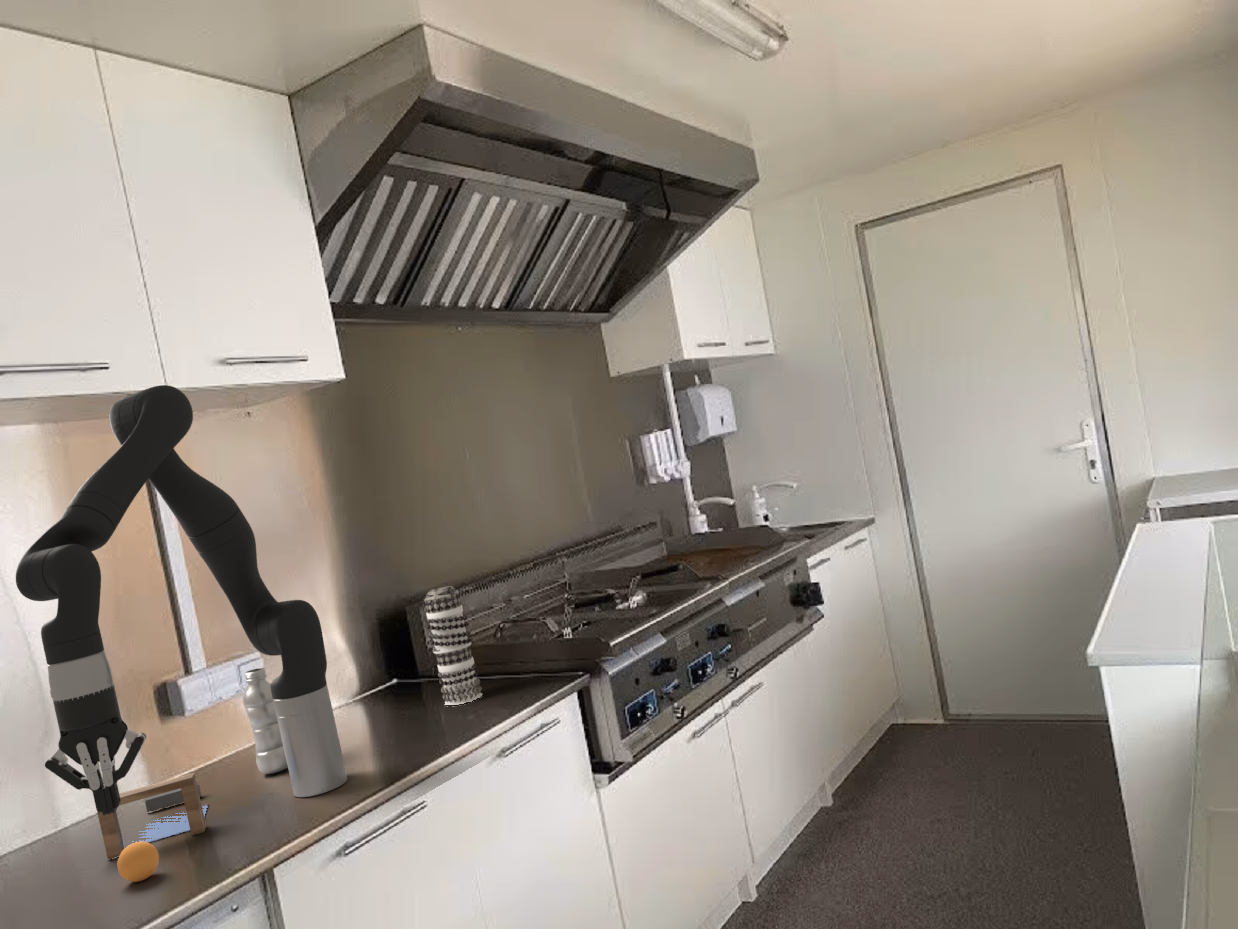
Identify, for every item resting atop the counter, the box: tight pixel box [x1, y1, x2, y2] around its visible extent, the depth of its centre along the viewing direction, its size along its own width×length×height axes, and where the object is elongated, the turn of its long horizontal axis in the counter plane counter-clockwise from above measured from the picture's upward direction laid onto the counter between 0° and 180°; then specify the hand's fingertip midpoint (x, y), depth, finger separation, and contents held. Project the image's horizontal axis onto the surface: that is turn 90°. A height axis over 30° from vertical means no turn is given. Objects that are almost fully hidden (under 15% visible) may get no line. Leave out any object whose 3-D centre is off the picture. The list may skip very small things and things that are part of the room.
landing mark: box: [123, 804, 209, 843], centre depth 169 cm, size 13×13×1 cm
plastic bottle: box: [242, 667, 288, 775], centre depth 190 cm, size 6×7×20 cm
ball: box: [116, 841, 160, 883], centre depth 146 cm, size 6×6×6 cm
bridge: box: [96, 772, 207, 860], centre depth 162 cm, size 3×14×9 cm, turn 108°
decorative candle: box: [422, 585, 483, 706], centre depth 217 cm, size 9×9×25 cm
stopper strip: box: [144, 782, 202, 813], centre depth 182 cm, size 2×9×2 cm, turn 108°
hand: (110, 812), depth 137 cm, fingers closed
